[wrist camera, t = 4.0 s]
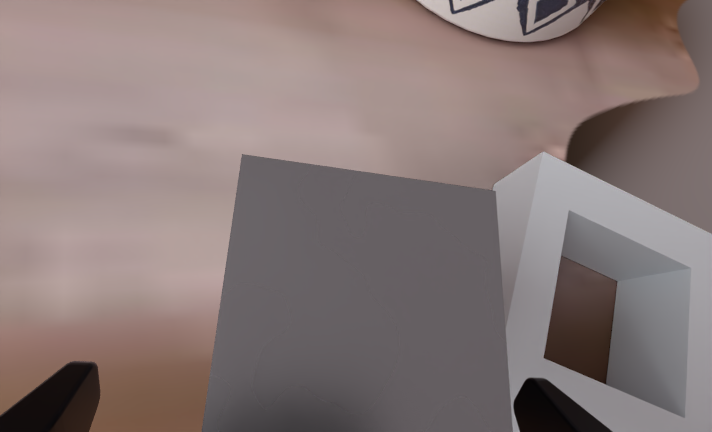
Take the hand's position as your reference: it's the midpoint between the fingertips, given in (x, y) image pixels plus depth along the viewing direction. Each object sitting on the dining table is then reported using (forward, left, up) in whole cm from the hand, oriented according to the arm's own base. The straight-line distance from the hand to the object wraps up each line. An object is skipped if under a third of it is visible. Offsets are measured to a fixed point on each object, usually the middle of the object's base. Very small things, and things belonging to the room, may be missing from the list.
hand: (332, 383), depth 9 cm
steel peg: (+1, -1, -9) cm, 9 cm away
